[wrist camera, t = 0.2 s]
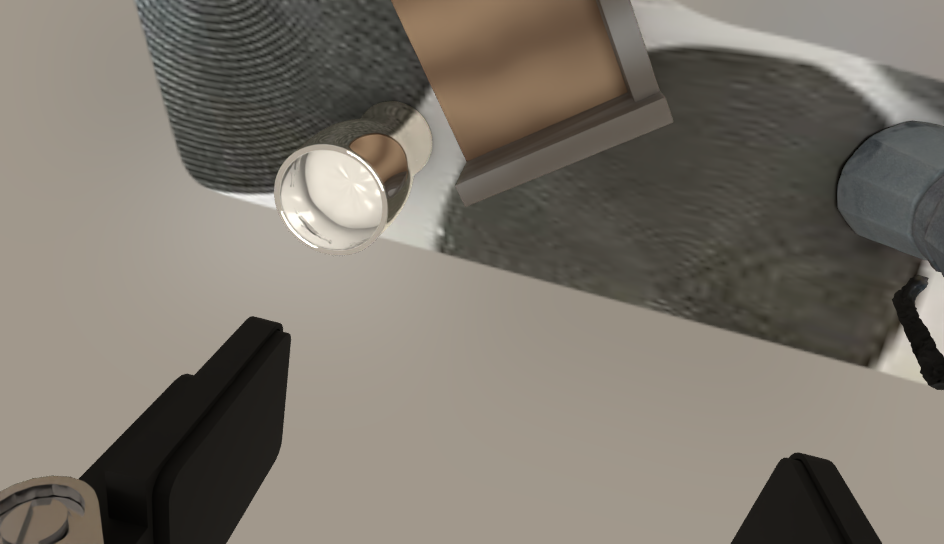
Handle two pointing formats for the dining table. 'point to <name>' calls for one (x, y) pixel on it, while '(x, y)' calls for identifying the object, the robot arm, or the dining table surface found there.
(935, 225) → the moka pot
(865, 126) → the dining table surface
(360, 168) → the beer glass
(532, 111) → the wooden corner tray
